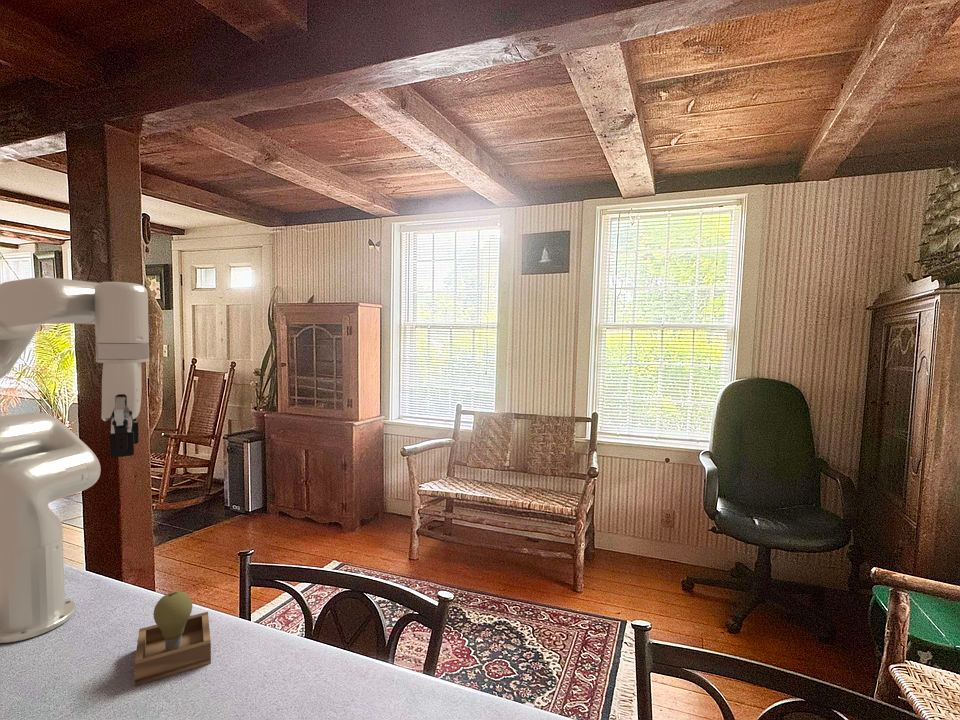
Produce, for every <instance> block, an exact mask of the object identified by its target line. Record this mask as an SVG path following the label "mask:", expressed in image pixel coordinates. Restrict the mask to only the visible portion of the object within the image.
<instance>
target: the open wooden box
mask: <svg viewBox="0 0 960 720" xmlns="http://www.w3.org/2000/svg"><path fill="white" fill-rule="evenodd" d="M209 618H210V617H209V611H204V612H201V613H200V612H199V613H198V614H197V613H196V614H193V615H190V616H189V618H188V620H187V622H186V624H185V628H184V632H183V634H182V645H181V646H180V647H179V648H178V649H175V650H172V651H170V650H166V649H165V647H166V646H165V638H164V637H163V634H162V631H161V629H160V628H159V627H158V626H157V624H153V625H150V626H145V627H142V628H138V629H139V630H138V636H137V637H138V638H137V644H136V650H135V657H134V662H133V663H134V664H133V665H134V668H133V669H134V687H137V686H140V685H143V684H146V683H149V682H153V681H157V680H160V679H164V678H166V677H170V676H172V675H176V674H179V673H183V672H185V671H189V670H193V669H197V668H200V667H202V666H206V665H208V664H212V649H211V648H212V647H211V646H212V642H211V629H210V619H209Z"/></svg>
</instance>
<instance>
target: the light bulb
mask: <svg viewBox="0 0 960 720" xmlns="http://www.w3.org/2000/svg"><path fill="white" fill-rule="evenodd" d="M192 611H193V600H192V598H191V596H190V595H189V594H188V593H186V592H185V591H179V590H175V591H170V592H168V593H166V594H164V595H163V596H162V597H161V598H160V599H159V600H158V601H157V603H156V605H155V606H154V609H153V620H154V622H155V625H157V626H158V627H159V628H160V629H161V631H162V634H163V637H164V638H165V646H166V647H165V649H166V650H170V651H172V650H175V649H178V648H179V647H180V646H181V645H182V634H183V632H184V628H185V624H186V622H187V620H188V618H189V616H191V613H192Z"/></svg>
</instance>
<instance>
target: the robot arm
mask: <svg viewBox="0 0 960 720" xmlns="http://www.w3.org/2000/svg"><path fill="white" fill-rule="evenodd" d="M42 324H78V325H79V324H80V325H81V324H82V325H94V332H95V333H94V337H95V339H94V340H95V363H99V364H103V365H102V372H101V373H102V376H101V420H103V422H107V421H108V420H109V419H110V418H111V421H110V433H109V450H110V451H109V454H110V455H109V457H110V458H121V457H123V458H125V457H131V456H134V454H135V445H137V444H138V443H139V440H140V437H139V436H140V435H139V433H140V432H139V421H138V416H139V414H140V412H141V406H142V389H143V388H142V386H143V384H142V381H143V380H142V377H143V376H142V363H146V362H150V333H149V331H150V330H149V329H150V328H149V324H150V323H149V293H148V289H147V287H145V286H144V285H143V284H140V283H135V282H126V281H125V282H124V281H102V282H95V281H85V280H77V279H76V280H75V279H69V278H68V279H67V278H60V277H59V278H58V277H31V278H23V279H17V280H10V281H9V280H8V281H5V282H1V283H0V379H2V378H3V377H5V376H6V375H8V373H9V372H10V371H11V370H12V369H13V367H14V366H15V364H16V363H17V361H18V360H19V359H20V357H21V356H22V355H23V353H24V351H25V350H26V349H27V347H28V345H29V344H30V343H31V341H32V340H33V338H34V336H35V335H36V332H37V330H38V329H40V327H41V325H42ZM93 451H94V450H92V449H91V448H90V447H89V446H88V445H87V444H86V443H85V442H84V441H83V440H82V439H80V437H78V435H77V434H75V433H74V432H73V431H72V430H71V429H70V428H69V427H68V426H66V424H65V423H63V422H62V421H61V420H60V419H59V418H56V417H55V416H54V415H51V414H48V413H45V412H27V413H21V414H12V415H2V414H0V644H5V643H6V644H9V643H14V642H19V641H25V640H27V639H31V638H35V637H37V636H40V635H43V634H45V633H48V632H50V631H52V630H54V629H56V628H58V627H60V626H62V625H63V624H64V623H66V622H67V621H68V620H70V619H71V618H72V617H73V615H74V614H75V613H76V603H75V601H74V600H71V599H70V598H69V599H68V598H66V597H65V567H64V565H65V564H64V534H63V533H64V532H63V523H62V521H61V519H60V518H59V516H58V515H57V514H56V513H55V511H53V510H52V509H51V508H50V507H49V504H50V503H52V502H55V501H57V500H60V499H63V498H66V497H69V496H72V495H75V494H77V493H80V492H83V491H86V490H88V489H89V488H91V487H92V486H94V485H95V484H96V483H97V482H98V480H99V479H100V476H101V471H102V470H101V463H100V460H99V459H98V457H97V455H96V454H95V452H93Z"/></svg>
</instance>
